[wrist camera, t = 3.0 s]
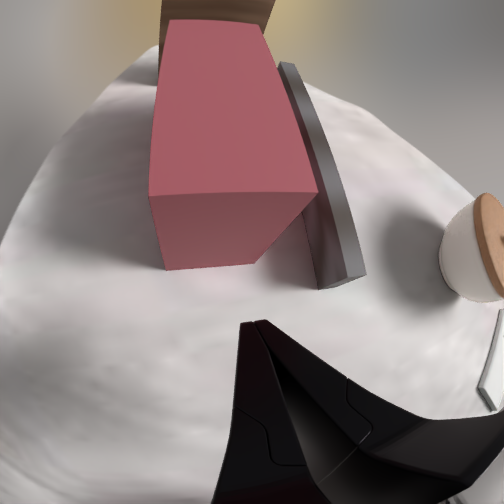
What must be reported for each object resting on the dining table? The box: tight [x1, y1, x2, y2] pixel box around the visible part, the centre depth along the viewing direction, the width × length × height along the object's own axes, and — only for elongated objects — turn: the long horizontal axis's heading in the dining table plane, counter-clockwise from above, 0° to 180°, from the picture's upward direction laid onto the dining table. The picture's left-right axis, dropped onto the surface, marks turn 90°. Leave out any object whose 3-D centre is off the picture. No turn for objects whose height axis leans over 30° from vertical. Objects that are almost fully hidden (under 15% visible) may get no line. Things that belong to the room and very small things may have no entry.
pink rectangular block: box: [148, 20, 318, 271], centre depth 16 cm, size 14×6×10 cm, turn 9°
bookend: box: [158, 0, 367, 290], centre depth 16 cm, size 23×13×12 cm, turn 9°
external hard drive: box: [478, 309, 504, 411], centre depth 23 cm, size 2×8×12 cm
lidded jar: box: [439, 193, 504, 303], centre depth 20 cm, size 11×11×9 cm
